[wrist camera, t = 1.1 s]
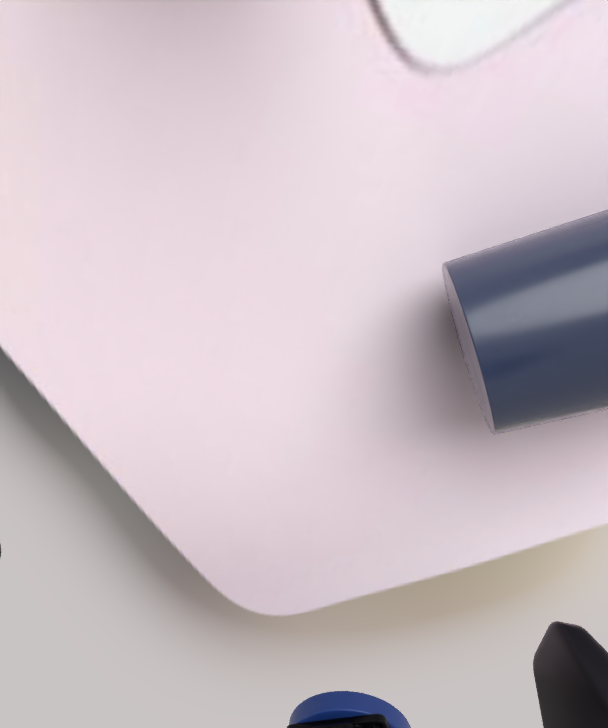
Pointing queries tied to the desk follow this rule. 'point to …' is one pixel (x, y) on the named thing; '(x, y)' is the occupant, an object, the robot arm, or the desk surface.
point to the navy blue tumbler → (535, 323)
